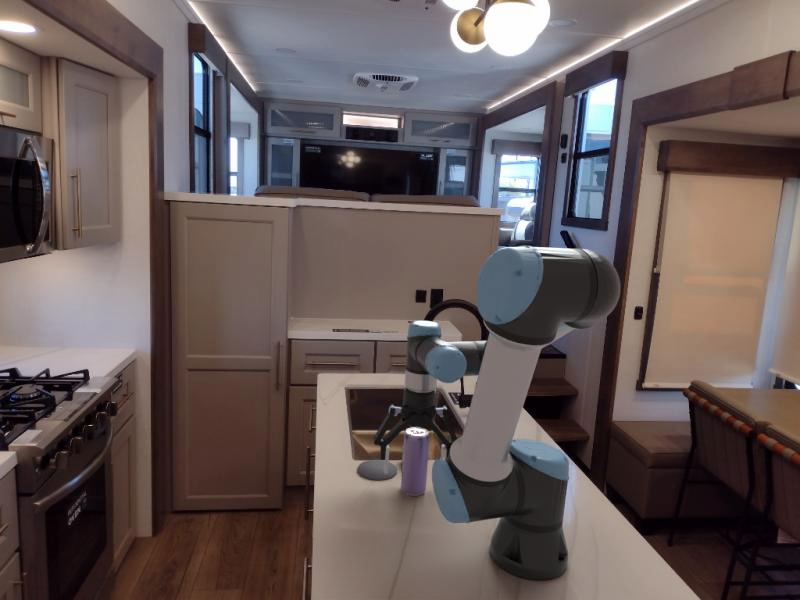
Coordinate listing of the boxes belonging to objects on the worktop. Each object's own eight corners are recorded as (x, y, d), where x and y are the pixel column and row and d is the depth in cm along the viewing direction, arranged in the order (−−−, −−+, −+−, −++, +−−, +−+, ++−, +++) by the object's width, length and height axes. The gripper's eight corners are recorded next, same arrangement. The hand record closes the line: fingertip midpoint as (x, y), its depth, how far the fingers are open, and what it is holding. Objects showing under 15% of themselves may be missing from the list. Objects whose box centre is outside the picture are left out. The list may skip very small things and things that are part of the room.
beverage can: (425, 497, 136) (430, 437, 133) (400, 496, 136) (404, 435, 134) (425, 485, 142) (429, 427, 139) (401, 483, 142) (404, 426, 139)
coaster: (398, 480, 144) (398, 478, 143) (358, 480, 142) (358, 477, 142) (395, 462, 153) (395, 460, 153) (357, 461, 152) (357, 459, 152)
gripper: (469, 383, 140) (462, 465, 143) (366, 380, 137) (361, 463, 141) (476, 394, 132) (468, 480, 136) (367, 391, 130) (362, 479, 133)
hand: (414, 472), depth 138 cm, fingers open, 13 cm apart
